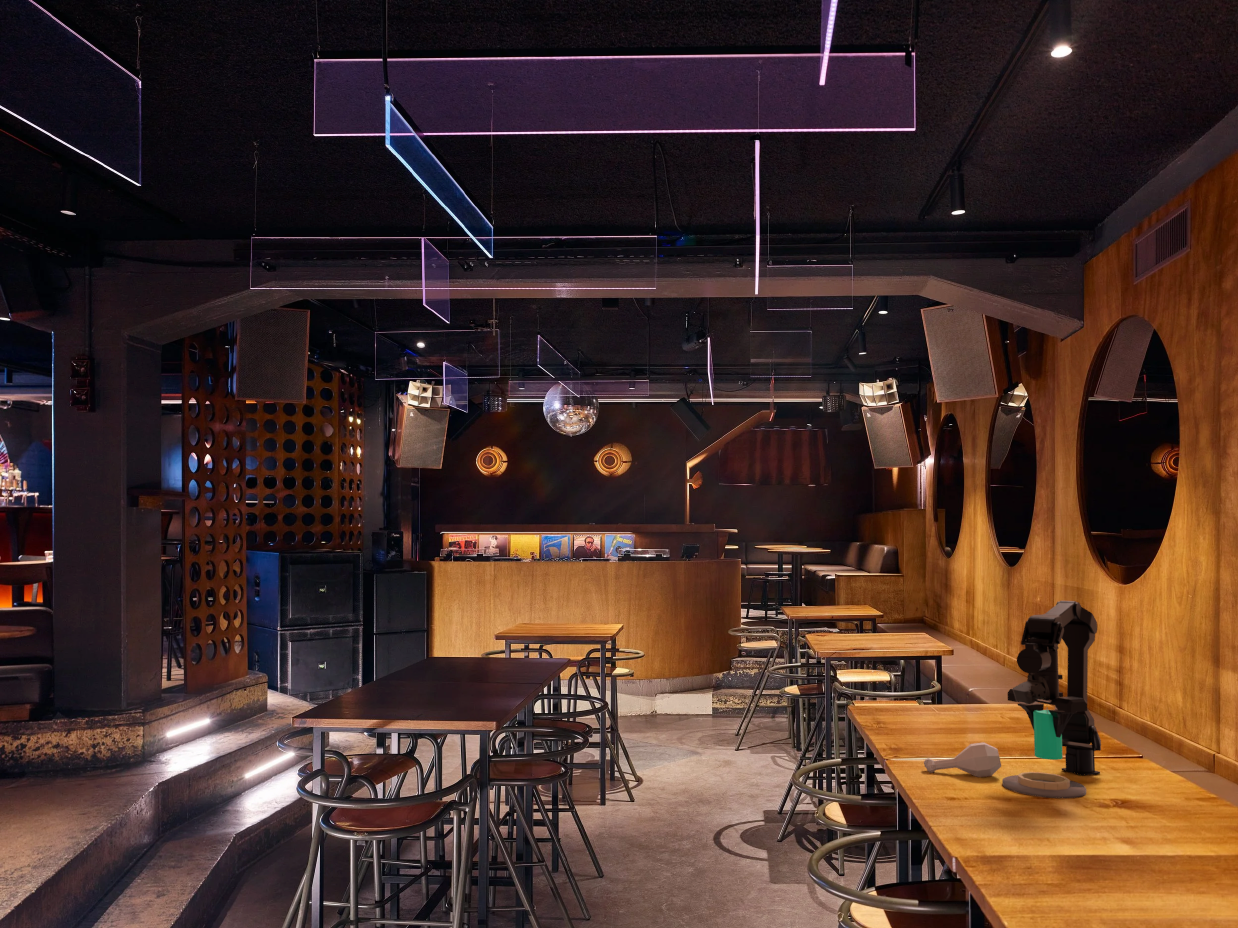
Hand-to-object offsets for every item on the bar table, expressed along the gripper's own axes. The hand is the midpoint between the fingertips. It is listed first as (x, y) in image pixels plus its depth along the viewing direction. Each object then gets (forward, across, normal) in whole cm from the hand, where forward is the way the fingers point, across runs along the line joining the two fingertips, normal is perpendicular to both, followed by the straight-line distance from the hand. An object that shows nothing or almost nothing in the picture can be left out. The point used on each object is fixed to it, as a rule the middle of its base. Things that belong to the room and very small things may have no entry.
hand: (1047, 736), depth 223 cm
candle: (+5, 0, 0) cm, 5 cm away
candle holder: (+12, -1, -1) cm, 12 cm away
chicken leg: (+12, -19, -9) cm, 24 cm away
